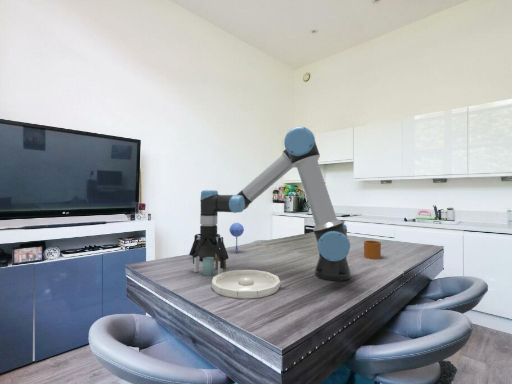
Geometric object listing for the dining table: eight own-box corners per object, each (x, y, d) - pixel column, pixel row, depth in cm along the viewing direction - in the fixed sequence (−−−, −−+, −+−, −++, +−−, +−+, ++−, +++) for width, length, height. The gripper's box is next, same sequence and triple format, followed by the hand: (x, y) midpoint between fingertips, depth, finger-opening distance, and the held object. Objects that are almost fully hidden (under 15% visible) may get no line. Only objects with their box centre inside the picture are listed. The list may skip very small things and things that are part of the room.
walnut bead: (227, 267, 132) (228, 253, 132) (222, 270, 128) (222, 255, 128) (219, 266, 134) (219, 252, 134) (213, 269, 130) (213, 254, 130)
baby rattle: (241, 254, 160) (241, 223, 160) (227, 253, 162) (227, 223, 162) (245, 251, 169) (245, 222, 169) (231, 250, 170) (231, 221, 170)
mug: (387, 257, 157) (387, 241, 157) (374, 260, 150) (375, 244, 150) (372, 254, 165) (373, 239, 164) (360, 256, 158) (360, 241, 158)
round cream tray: (288, 281, 113) (288, 273, 113) (262, 303, 90) (262, 294, 90) (233, 272, 125) (233, 265, 125) (198, 290, 101) (198, 282, 101)
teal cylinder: (216, 273, 123) (216, 257, 123) (209, 276, 119) (209, 260, 119) (207, 271, 125) (207, 256, 125) (200, 274, 121) (200, 258, 121)
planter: (207, 254, 160) (207, 232, 160) (225, 258, 152) (225, 234, 152) (188, 259, 149) (189, 235, 149) (206, 263, 140) (207, 237, 140)
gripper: (236, 225, 120) (236, 275, 120) (192, 222, 131) (191, 267, 131) (227, 227, 113) (227, 279, 113) (181, 224, 124) (181, 271, 124)
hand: (208, 273), depth 122 cm, fingers open, 12 cm apart
